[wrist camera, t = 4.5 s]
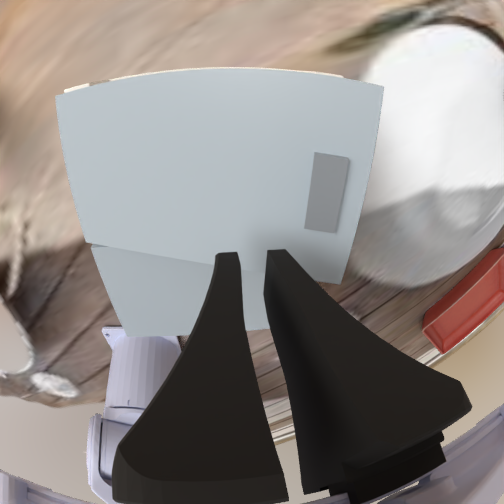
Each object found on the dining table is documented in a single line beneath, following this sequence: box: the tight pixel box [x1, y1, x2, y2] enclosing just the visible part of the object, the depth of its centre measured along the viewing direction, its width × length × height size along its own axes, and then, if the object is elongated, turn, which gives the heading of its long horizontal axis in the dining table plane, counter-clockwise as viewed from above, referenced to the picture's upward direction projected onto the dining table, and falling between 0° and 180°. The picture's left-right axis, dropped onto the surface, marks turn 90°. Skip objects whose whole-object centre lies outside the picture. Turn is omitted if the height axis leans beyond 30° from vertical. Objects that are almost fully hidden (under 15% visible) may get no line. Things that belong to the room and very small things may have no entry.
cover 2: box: [91, 244, 270, 337], centre depth 18 cm, size 9×14×1 cm, turn 88°
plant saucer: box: [422, 248, 504, 354], centre depth 34 cm, size 18×18×3 cm
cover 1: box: [55, 69, 384, 284], centre depth 11 cm, size 9×14×1 cm, turn 88°
